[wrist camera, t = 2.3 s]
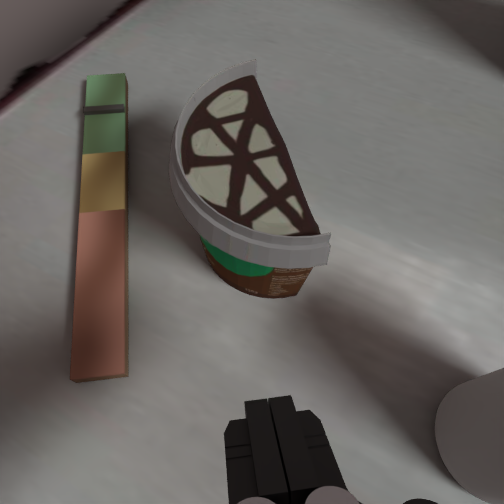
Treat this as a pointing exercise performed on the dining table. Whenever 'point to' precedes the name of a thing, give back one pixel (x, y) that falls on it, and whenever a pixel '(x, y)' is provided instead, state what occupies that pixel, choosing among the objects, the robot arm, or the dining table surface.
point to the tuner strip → (102, 236)
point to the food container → (243, 188)
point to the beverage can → (474, 435)
